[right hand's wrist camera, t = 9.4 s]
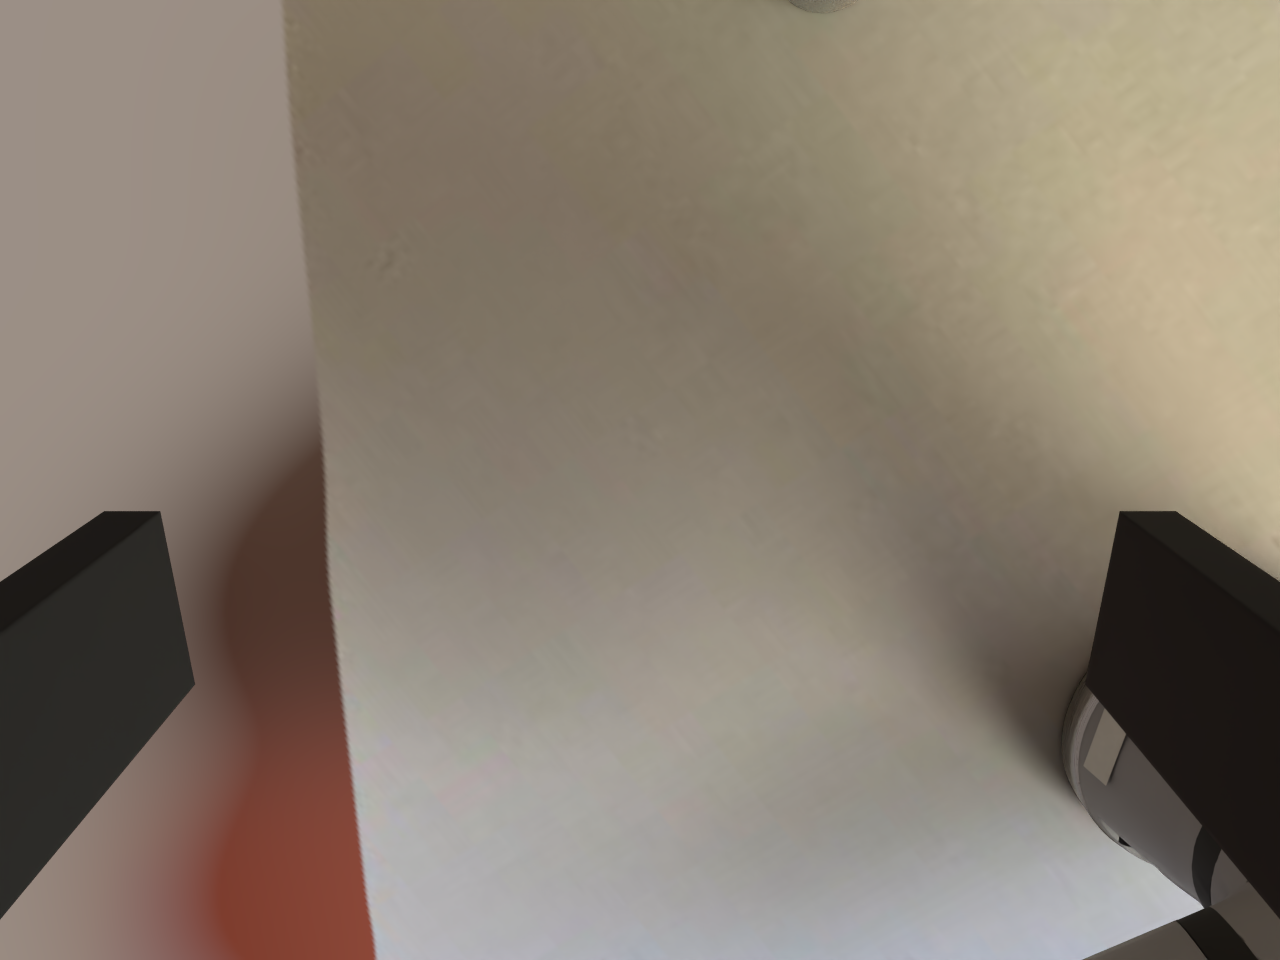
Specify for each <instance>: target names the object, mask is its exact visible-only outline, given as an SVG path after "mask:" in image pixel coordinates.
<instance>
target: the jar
mask: <svg viewBox="0 0 1280 960" xmlns="http://www.w3.org/2000/svg"><path fill="white" fill-rule="evenodd" d="M789 1H790V2H791V3H792V4H794V5H796V6H797V7H799V8H801V9H804V10H806V11H810V12H816V13H829V12H835V11H838V10H841V9H844V8H846V7H848V6H850V5H852V4H853V3H855V2H856V1H858V0H789Z"/></svg>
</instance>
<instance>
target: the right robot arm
mask: <svg viewBox="0 0 1280 960" xmlns="http://www.w3.org/2000/svg"><path fill="white" fill-rule="evenodd" d="M194 685H195V682H194V677H193V672H192V667H191V662H190V657H189V652H188V647H187V642H186V637H185V632H184V627H183V622H182V617H181V612H180V608H179V602H178V597H177V592H176V587H175V583H174V578H173V573H172V568H171V563H170V558H169V553H168V548H167V543H166V538H165V533H164V528H163V523H162V518H161V513H160V511H104V512H103V513H101V514H100V515H98V516H97V517H95V518H94V519H92V520H91V521H89V522H88V523H86V524H85V525H83V526H82V527H80V528H79V529H77V530H76V531H75V532H73V533H72V534H70V535H69V536H67V537H66V538H64V539H63V540H61V541H60V542H58V543H57V544H55V545H54V546H52V547H51V548H50V549H48V550H47V551H45V552H44V553H42V554H41V555H39V556H38V557H36V558H35V559H33V560H32V561H30V562H29V563H27V564H26V565H24V566H23V567H22V568H20V569H19V570H17V571H16V572H14V573H13V574H11V575H10V576H8V577H7V578H5V579H4V580H2V581H1V582H0V919H1V918H2V917H3V915H4V914H5V913H6V912H7V911H8V909H9V908H10V907H11V906H12V905H13V903H14V902H15V901H16V900H17V899H18V897H19V896H20V895H21V894H22V892H23V891H24V890H25V889H26V888H27V886H28V885H29V884H30V883H31V882H32V880H33V879H34V878H35V877H36V876H37V874H38V873H39V872H40V871H41V870H42V868H43V867H44V866H45V865H46V864H47V862H48V861H49V860H50V859H51V857H52V856H53V855H54V854H55V853H56V851H57V850H58V849H59V848H60V847H61V845H62V844H63V843H64V842H65V841H66V839H67V838H68V837H69V836H70V835H71V833H72V832H73V831H74V830H75V828H76V827H77V826H78V825H79V824H80V823H81V821H82V820H83V819H84V818H85V816H86V815H87V814H88V813H89V812H90V810H91V809H92V808H93V807H94V806H95V804H96V803H97V802H98V801H99V800H100V798H101V797H102V796H103V795H104V794H105V792H106V791H107V790H108V789H109V787H110V786H111V785H112V784H113V783H114V781H115V780H116V779H117V778H118V777H119V775H120V774H121V773H122V772H123V771H124V769H125V768H126V767H127V766H128V765H129V763H130V762H131V761H132V760H133V759H134V757H135V756H136V755H137V754H138V753H139V751H140V750H141V749H142V748H143V746H144V745H145V744H146V743H147V742H148V740H149V739H150V738H151V737H152V735H153V734H154V733H155V732H156V731H157V730H158V728H159V727H160V726H161V725H162V724H163V722H164V721H165V720H166V719H167V718H168V716H169V715H170V714H171V713H172V712H173V710H174V709H175V708H176V707H177V705H178V704H179V703H180V702H181V701H182V699H183V698H184V697H185V696H186V695H187V693H188V692H189V691H190V690H191V689H192V687H193V686H194ZM1062 757H1063V763H1064V768H1065V771H1066V774H1067V778H1068V780H1069V782H1070V784H1071V786H1072V788H1073V790H1074V792H1075V793H1076V795H1077V796H1078V798H1079V800H1080V801H1081V802H1082V804H1083V805H1084V807H1085V808H1086V810H1087V811H1088V813H1089V814H1090V816H1091V817H1092V819H1093V820H1094V822H1095V823H1096V824H1097V825H1098V826H1099V828H1100V829H1101V830H1102V831H1103V832H1104V833H1105V834H1106V835H1107V836H1108V837H1109V838H1110V839H1112V840H1113V841H1114V842H1116V843H1117V844H1118V845H1120V846H1121V847H1123V848H1124V849H1126V850H1127V851H1128V852H1130V853H1131V854H1133V855H1135V856H1136V857H1138V858H1140V859H1142V860H1144V861H1146V862H1148V863H1150V864H1153V865H1154V866H1155V867H1156V868H1158V870H1159V871H1160V872H1161V873H1162V874H1164V875H1165V876H1166V877H1167V878H1168V879H1169V880H1170V881H1172V882H1173V883H1174V884H1175V885H1177V886H1178V887H1179V888H1181V889H1182V890H1183V891H1185V892H1186V893H1188V894H1189V895H1190V896H1192V897H1193V898H1194V899H1196V900H1197V901H1199V902H1200V903H1201V905H1202V906H1203V907H1204V908H1205V909H1202V910H1200V911H1198V912H1195V913H1193V914H1191V915H1188V916H1186V917H1184V918H1181V919H1179V920H1176V921H1173V922H1171V923H1168V924H1166V925H1163V926H1161V927H1159V928H1156V929H1154V930H1152V931H1149V932H1147V933H1145V934H1142V935H1140V936H1137V937H1135V938H1133V939H1130V940H1128V941H1126V942H1123V943H1121V944H1118V945H1116V946H1114V947H1111V948H1109V949H1107V950H1104V951H1102V952H1099V953H1097V954H1095V955H1092V956H1090V957H1088V958H1085V959H1083V960H1280V582H1279V581H1278V580H1276V579H1275V578H1273V577H1272V576H1270V575H1269V574H1267V573H1266V572H1264V571H1263V570H1261V569H1260V568H1258V567H1257V566H1256V565H1254V564H1253V563H1251V562H1250V561H1248V560H1247V559H1245V558H1244V557H1242V556H1241V555H1239V554H1238V553H1236V552H1235V551H1233V550H1232V549H1231V548H1229V547H1228V546H1226V545H1225V544H1223V543H1222V542H1220V541H1219V540H1217V539H1216V538H1214V537H1213V536H1211V535H1210V534H1208V533H1207V532H1205V531H1204V530H1203V529H1201V528H1200V527H1198V526H1197V525H1195V524H1194V523H1192V522H1191V521H1189V520H1188V519H1186V518H1185V517H1183V516H1182V515H1180V514H1179V513H1178V512H1176V511H1120V513H1119V518H1118V523H1117V528H1116V533H1115V538H1114V543H1113V548H1112V553H1111V558H1110V563H1109V568H1108V572H1107V577H1106V582H1105V587H1104V592H1103V597H1102V602H1101V607H1100V612H1099V617H1098V622H1097V627H1096V632H1095V637H1094V642H1093V647H1092V652H1091V657H1090V662H1089V667H1088V672H1087V673H1086V675H1085V676H1084V678H1083V679H1082V681H1081V682H1080V684H1079V686H1078V688H1077V689H1076V691H1075V693H1074V695H1073V697H1072V700H1071V702H1070V705H1069V707H1068V710H1067V714H1066V717H1065V721H1064V726H1063V731H1062Z"/></svg>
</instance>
